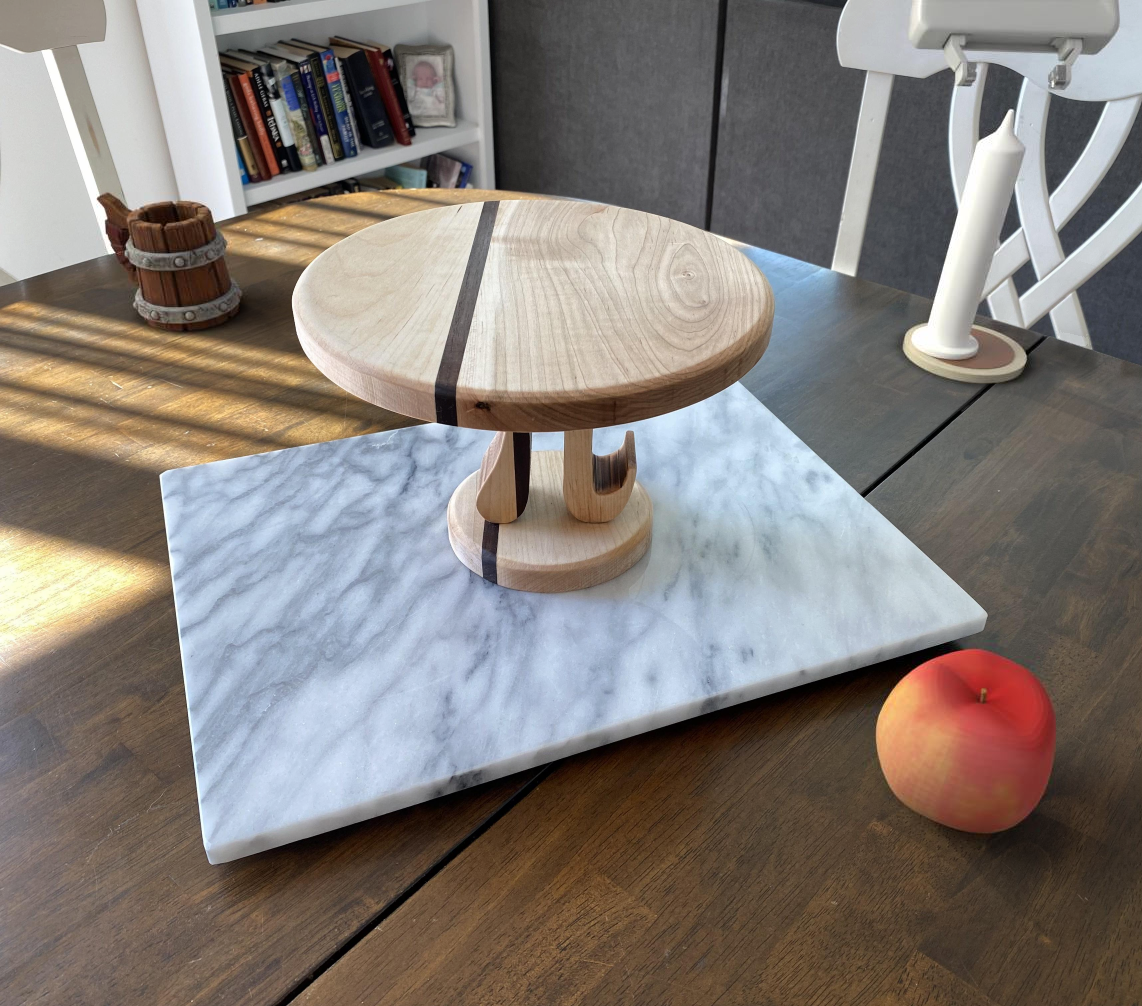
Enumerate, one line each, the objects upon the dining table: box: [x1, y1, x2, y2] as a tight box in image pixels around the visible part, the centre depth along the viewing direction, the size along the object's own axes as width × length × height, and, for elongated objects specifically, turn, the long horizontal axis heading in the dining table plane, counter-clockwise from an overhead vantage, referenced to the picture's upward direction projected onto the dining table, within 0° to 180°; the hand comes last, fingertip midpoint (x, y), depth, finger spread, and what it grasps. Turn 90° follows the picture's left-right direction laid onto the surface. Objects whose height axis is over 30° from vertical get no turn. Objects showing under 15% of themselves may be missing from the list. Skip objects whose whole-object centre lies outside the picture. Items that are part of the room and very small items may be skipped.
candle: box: [912, 108, 1027, 360], centre depth 97 cm, size 7×7×25 cm
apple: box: [875, 648, 1057, 834], centre depth 54 cm, size 10×10×10 cm
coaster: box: [902, 322, 1028, 384], centre depth 105 cm, size 13×13×1 cm
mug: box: [96, 191, 243, 332], centre depth 106 cm, size 12×14×15 cm
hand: (1012, 84), depth 95 cm, fingers open, 8 cm apart
